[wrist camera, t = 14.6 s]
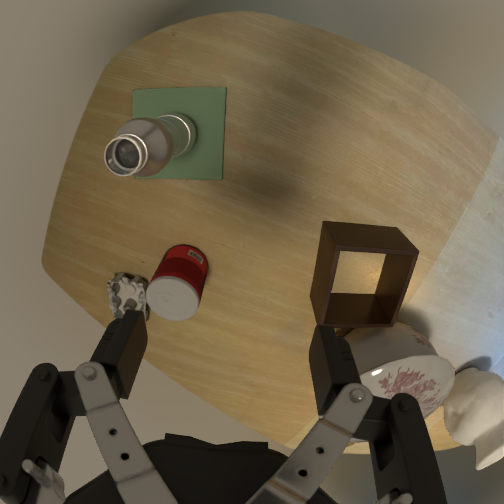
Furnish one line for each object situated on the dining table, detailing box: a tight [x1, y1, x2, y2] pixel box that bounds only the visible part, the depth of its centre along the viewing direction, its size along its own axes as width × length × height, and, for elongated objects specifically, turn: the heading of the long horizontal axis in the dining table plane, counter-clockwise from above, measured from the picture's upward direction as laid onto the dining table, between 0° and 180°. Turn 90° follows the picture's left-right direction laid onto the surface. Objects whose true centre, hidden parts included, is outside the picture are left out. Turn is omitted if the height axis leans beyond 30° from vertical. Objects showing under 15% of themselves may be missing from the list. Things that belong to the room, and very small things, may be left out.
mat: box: [132, 87, 227, 180], centre depth 43 cm, size 14×14×1 cm
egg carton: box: [107, 272, 148, 321], centre depth 55 cm, size 11×8×4 cm
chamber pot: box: [319, 321, 455, 443], centre depth 53 cm, size 28×28×21 cm
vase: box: [444, 367, 504, 470], centre depth 57 cm, size 19×21×30 cm
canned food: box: [146, 245, 208, 321], centre depth 48 cm, size 8×8×11 cm
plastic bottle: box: [104, 112, 196, 177], centre depth 33 cm, size 6×7×20 cm
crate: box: [310, 221, 419, 328], centre depth 49 cm, size 15×14×9 cm
